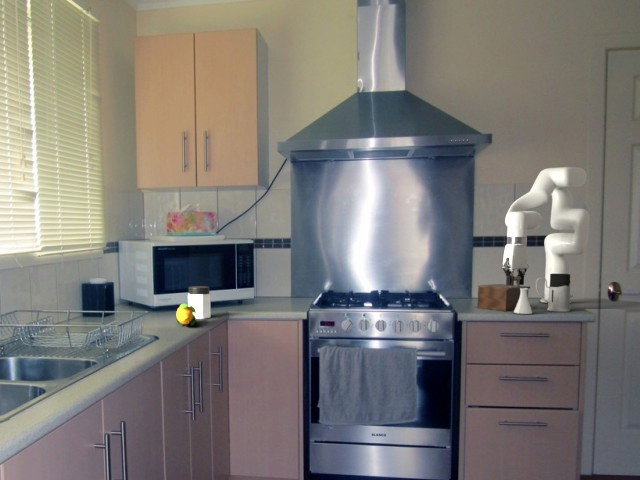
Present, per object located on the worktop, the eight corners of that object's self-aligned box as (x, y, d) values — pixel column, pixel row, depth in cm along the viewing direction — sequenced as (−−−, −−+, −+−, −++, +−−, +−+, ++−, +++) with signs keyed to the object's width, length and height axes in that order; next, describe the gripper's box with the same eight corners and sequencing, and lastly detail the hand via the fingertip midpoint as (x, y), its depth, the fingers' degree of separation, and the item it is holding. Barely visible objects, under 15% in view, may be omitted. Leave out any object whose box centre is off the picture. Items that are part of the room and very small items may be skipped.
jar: (199, 315, 264) (199, 285, 262) (214, 317, 258) (214, 286, 257) (183, 317, 257) (183, 287, 255) (199, 319, 252) (198, 288, 250)
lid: (530, 288, 275) (530, 276, 274) (508, 290, 268) (508, 277, 268) (499, 285, 288) (500, 273, 288) (478, 287, 282) (478, 275, 281)
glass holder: (574, 311, 268) (576, 274, 266) (539, 311, 268) (541, 275, 266) (564, 308, 277) (565, 273, 275) (530, 309, 277) (531, 273, 275)
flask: (529, 312, 267) (530, 287, 266) (535, 314, 260) (536, 289, 259) (510, 312, 268) (511, 287, 267) (516, 314, 260) (517, 289, 259)
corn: (194, 300, 247) (196, 306, 227) (196, 320, 248) (198, 328, 228) (175, 302, 246) (174, 308, 227) (176, 322, 247) (176, 330, 227)
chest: (527, 309, 277) (528, 288, 276) (505, 311, 270) (506, 290, 269) (499, 305, 289) (499, 285, 288) (477, 307, 283) (478, 287, 282)
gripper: (522, 241, 279) (521, 283, 281) (494, 241, 271) (493, 285, 273) (538, 241, 272) (536, 284, 274) (510, 242, 264) (508, 286, 266)
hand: (514, 284), depth 273 cm, fingers closed on lid, 5 cm apart
